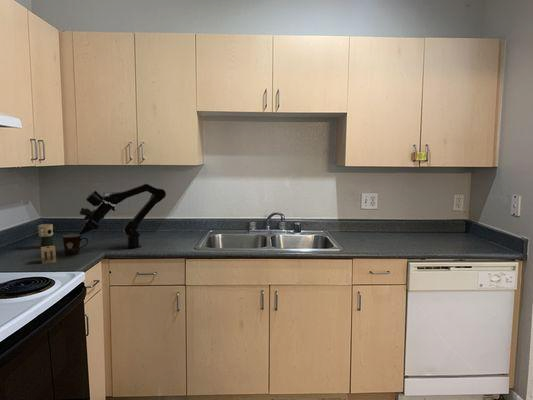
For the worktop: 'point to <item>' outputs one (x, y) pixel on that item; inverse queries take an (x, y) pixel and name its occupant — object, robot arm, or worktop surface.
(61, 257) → the worktop surface
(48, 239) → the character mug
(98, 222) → the robot arm
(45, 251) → the numbered maple block
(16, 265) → the worktop surface
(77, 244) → the coffee mug
